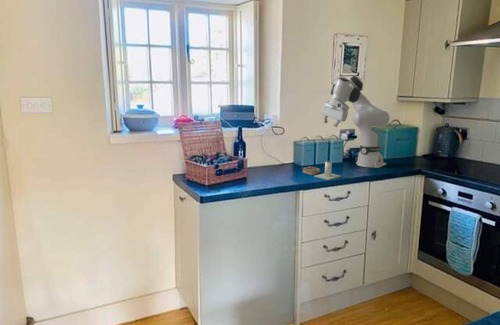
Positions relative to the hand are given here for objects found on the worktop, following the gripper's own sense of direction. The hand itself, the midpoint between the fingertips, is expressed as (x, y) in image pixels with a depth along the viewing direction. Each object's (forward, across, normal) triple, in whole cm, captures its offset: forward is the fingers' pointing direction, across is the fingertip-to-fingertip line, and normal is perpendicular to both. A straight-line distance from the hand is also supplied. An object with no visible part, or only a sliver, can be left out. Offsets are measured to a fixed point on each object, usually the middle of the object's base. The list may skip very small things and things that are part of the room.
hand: (330, 124), depth 238 cm
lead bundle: (+29, +16, -5) cm, 34 cm away
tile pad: (+30, +16, -5) cm, 34 cm away
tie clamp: (+32, +3, -7) cm, 33 cm away
